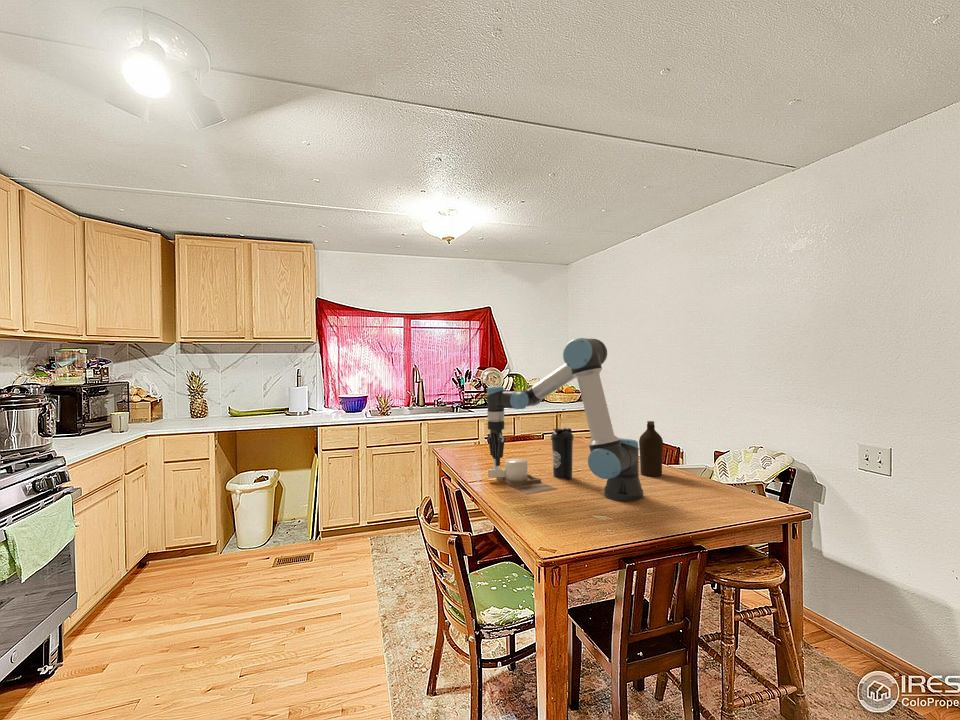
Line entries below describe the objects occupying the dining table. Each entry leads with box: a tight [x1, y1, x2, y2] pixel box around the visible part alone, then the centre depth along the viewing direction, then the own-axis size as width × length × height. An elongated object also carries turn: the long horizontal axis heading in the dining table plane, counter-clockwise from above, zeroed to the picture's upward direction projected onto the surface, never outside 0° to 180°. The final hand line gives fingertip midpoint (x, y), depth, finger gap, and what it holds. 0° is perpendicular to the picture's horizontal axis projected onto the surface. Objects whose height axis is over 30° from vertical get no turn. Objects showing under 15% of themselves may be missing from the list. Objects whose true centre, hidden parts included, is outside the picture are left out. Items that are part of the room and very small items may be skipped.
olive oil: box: [638, 420, 664, 478], centre depth 223 cm, size 11×11×25 cm
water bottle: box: [550, 427, 574, 481], centre depth 219 cm, size 10×10×23 cm
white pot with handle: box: [487, 458, 529, 483], centre depth 211 cm, size 18×10×9 cm, turn 88°
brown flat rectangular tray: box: [496, 473, 558, 495], centre depth 207 cm, size 27×15×2 cm, turn 26°
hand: (496, 472), depth 215 cm, fingers closed
